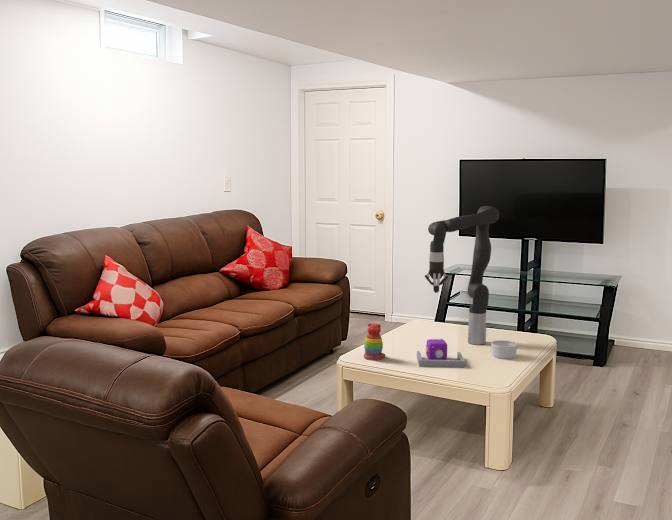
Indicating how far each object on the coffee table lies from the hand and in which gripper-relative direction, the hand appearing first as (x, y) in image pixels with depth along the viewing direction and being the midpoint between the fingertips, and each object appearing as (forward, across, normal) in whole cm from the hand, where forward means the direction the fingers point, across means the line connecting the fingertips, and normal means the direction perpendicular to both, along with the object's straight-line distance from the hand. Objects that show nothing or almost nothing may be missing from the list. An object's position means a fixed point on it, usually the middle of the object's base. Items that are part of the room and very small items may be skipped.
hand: (436, 292), depth 373 cm
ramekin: (+30, -33, +17) cm, 48 cm away
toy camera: (+30, +2, +26) cm, 39 cm away
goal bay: (+30, +1, +28) cm, 41 cm away
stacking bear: (+29, +34, +23) cm, 51 cm away
